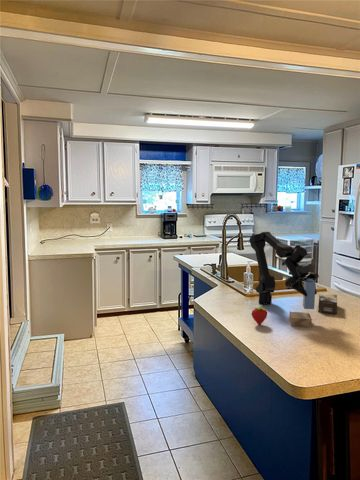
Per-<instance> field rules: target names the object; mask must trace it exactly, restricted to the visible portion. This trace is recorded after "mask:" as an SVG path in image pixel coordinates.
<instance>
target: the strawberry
mask: <svg viewBox="0 0 360 480" xmlns="http://www.w3.org/2000/svg"><path fill="white" fill-rule="evenodd" d="M251 316H252V319H253V320H254V321H255V322H256V324H257V325H259V326H260V325H262V324H263V323H264V321H265V320H266V319H267V317H268V311H267V310H266V307H262V306H258V307H255V308H254V309H253V310H252V311H251Z"/></svg>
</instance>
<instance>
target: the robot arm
mask: <svg viewBox="0 0 360 480" xmlns="http://www.w3.org/2000/svg"><path fill="white" fill-rule="evenodd" d="M248 241H249V244H250V247H251V249H253V250H254V252H255V257H256V261H257V265H258V269H259V275H260V277H259V279H258V285H257V286H256V288H255V291H256V293H258V305H269V306H270V305H271V304H272V297H273V296H272V293H274V292H275V290H276V281H275V276H272V275H271V274H270V269H269V265H268V262H267V258H266V253H265V247H266V243H267V244H268V245H269V246H270V247H271V248H272V249H274V250H275V254H276V255H277V256H278V257H279V258H280V259H283V260H282V263H281V266H285V267H286V268H287V269H288V271H289V272H288V274H289V277H288V278H287V279H286V280H285V281H284V286H285V287H286V288H291V289H293V290H294V291H297V292H298V293H300V294H301V295H304V296H307V293H306V291H305V289H304V285H303V282H304V280H307V279H308V278H310V279H313V280H314V281H315V282H316V280H317V279H319V277H320V275H319V274H318V273H317V272H315V270H316V266H315V264H313V263H309V264H307V265H305V266H303V265H300V263H301V262H302V261H303V260H304V259H305V258H306V257H307V255H308V250H306V249H305V248H304V247H302V246H301V245H300V244H296V245H295V247H294V248H293V247H292V246H291V245H289V244H287V243H283V242H281V241H280V240H279V239H278V238H277V237H275V236H274V235H273V234H272V233H271V232H270V231H261V232H260V233H257V234H252V235H251V236H250V237H249V239H248ZM284 258H285V259H284ZM317 294H318V292H317V287H316V286H315V295H317Z"/></svg>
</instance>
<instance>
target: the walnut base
mask: <svg viewBox="0 0 360 480" xmlns="http://www.w3.org/2000/svg"><path fill="white" fill-rule="evenodd" d="M289 324H290V326H291V327H300V328H312V316H311V314H310V312H302V311H301V312H300V311H289Z"/></svg>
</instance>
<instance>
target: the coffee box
mask: <svg viewBox="0 0 360 480" xmlns="http://www.w3.org/2000/svg"><path fill="white" fill-rule="evenodd" d="M317 309H318V310H317V311H318V312H319V313H323V314H324V313H325V314H334V315H337V311H338V294H335V293H326V292H325V293H324V292H319V294H318V308H317Z"/></svg>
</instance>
